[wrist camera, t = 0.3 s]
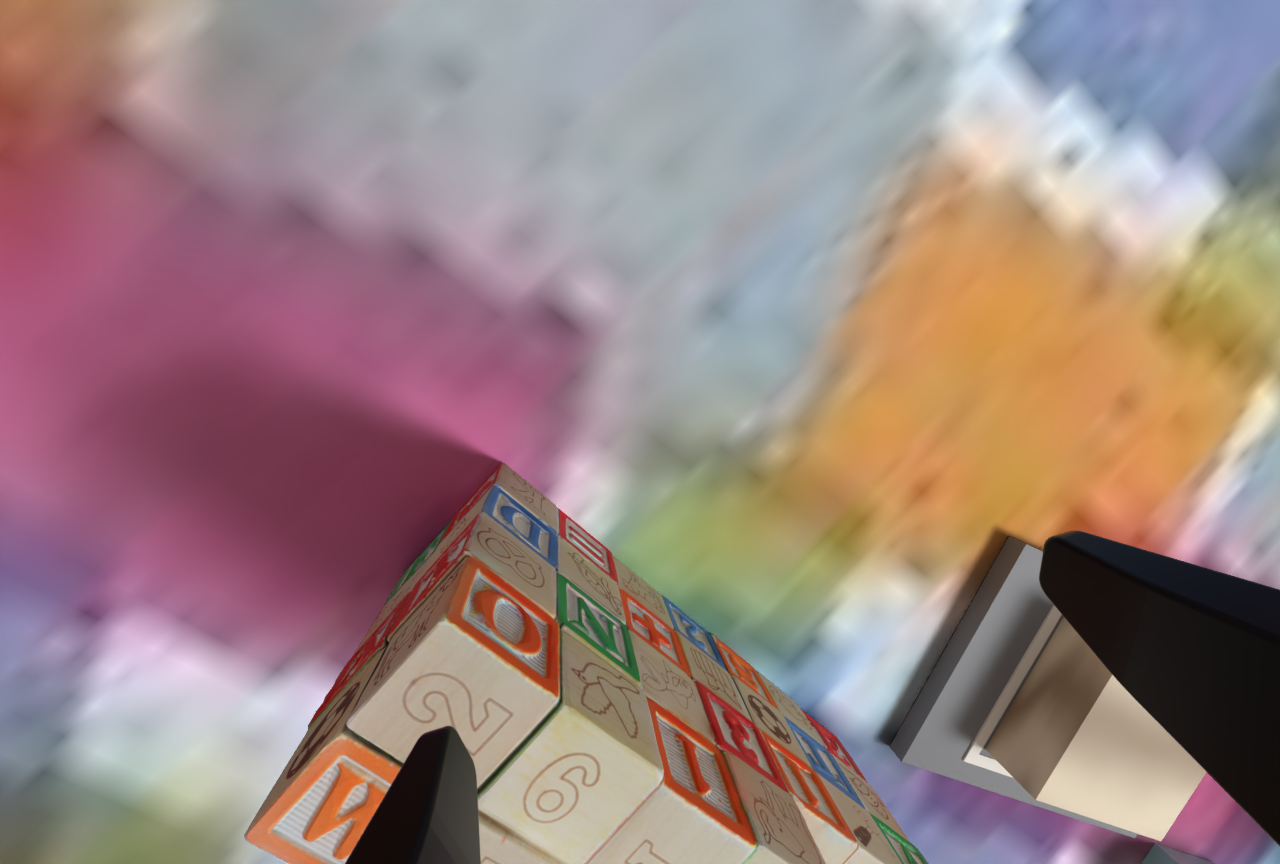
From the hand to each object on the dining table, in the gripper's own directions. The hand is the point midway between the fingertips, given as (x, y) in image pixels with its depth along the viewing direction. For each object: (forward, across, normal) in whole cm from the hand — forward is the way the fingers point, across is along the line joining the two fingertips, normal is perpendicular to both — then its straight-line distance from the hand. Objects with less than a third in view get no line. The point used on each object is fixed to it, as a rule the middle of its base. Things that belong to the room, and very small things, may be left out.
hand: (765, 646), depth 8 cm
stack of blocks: (+13, +2, +14) cm, 19 cm away
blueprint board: (+10, -19, +23) cm, 31 cm away
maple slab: (+9, -19, +22) cm, 31 cm away
